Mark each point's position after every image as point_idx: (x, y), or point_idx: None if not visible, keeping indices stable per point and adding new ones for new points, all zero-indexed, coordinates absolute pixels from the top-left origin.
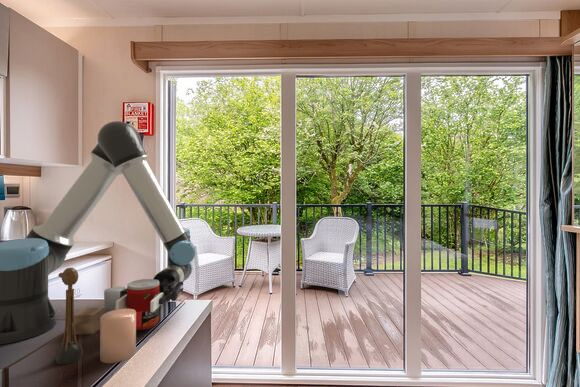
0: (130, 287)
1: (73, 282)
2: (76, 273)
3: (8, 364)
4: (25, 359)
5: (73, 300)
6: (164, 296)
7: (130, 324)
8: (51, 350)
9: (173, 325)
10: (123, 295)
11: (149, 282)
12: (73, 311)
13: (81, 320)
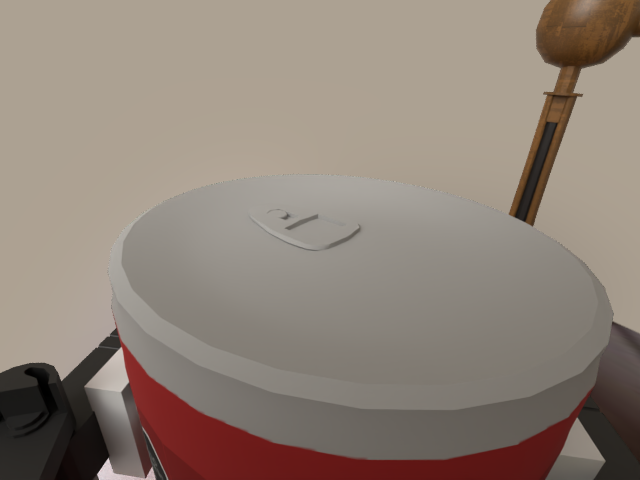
0: (419, 192)
1: (537, 48)
2: (549, 2)
3: (637, 335)
4: (625, 349)
5: (533, 141)
6: (101, 365)
7: None
8: (617, 387)
9: None
10: (636, 459)
11: (282, 284)
12: (518, 186)
13: None
